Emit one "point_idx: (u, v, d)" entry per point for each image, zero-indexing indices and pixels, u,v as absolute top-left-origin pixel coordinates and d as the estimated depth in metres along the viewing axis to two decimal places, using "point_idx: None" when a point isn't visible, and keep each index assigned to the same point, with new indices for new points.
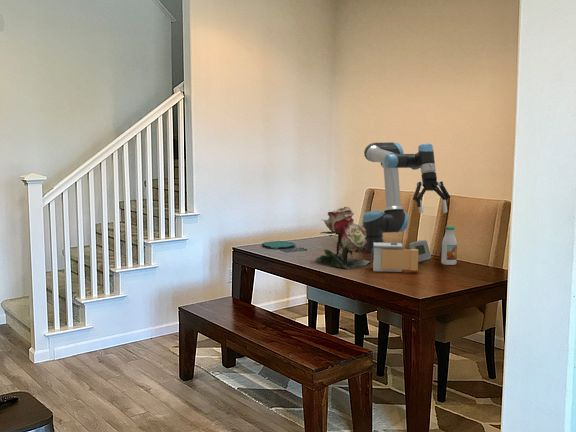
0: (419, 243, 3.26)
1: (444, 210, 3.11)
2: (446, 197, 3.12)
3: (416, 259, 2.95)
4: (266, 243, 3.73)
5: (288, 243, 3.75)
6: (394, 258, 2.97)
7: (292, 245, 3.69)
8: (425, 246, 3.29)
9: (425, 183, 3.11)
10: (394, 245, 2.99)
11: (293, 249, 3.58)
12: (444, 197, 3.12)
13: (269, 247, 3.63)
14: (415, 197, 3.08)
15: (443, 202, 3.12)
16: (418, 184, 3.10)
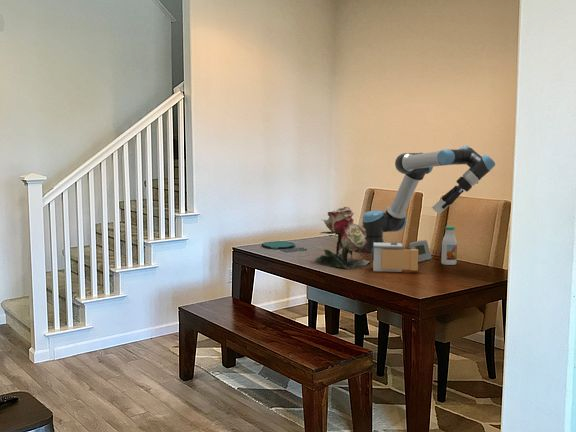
0: (419, 243, 3.26)
1: (435, 208, 3.06)
2: (446, 200, 3.06)
3: (416, 259, 2.95)
4: (266, 243, 3.73)
5: (288, 243, 3.75)
6: (394, 258, 2.97)
7: (292, 245, 3.69)
8: (425, 246, 3.29)
9: None
10: (394, 245, 2.99)
11: (293, 249, 3.58)
12: None
13: (269, 247, 3.63)
14: None
15: (441, 202, 3.05)
16: (461, 192, 2.91)
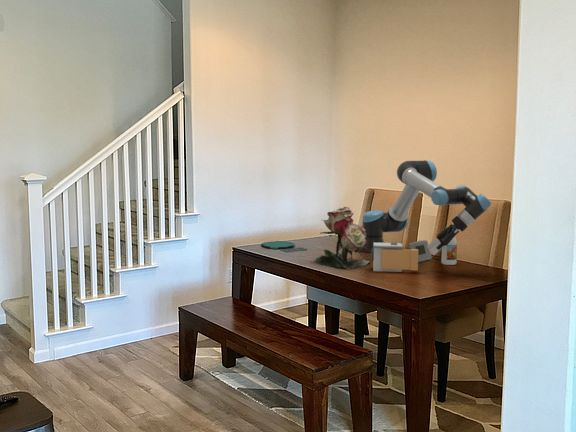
0: (419, 243, 3.26)
1: (430, 246, 3.00)
2: None
3: (416, 259, 2.95)
4: (265, 243, 3.73)
5: (287, 243, 3.75)
6: (394, 258, 2.97)
7: (291, 245, 3.69)
8: (425, 246, 3.28)
9: None
10: (394, 245, 2.99)
11: (293, 249, 3.58)
12: (441, 239, 2.99)
13: (269, 247, 3.63)
14: (447, 244, 2.83)
15: (436, 241, 3.00)
16: (456, 232, 2.85)
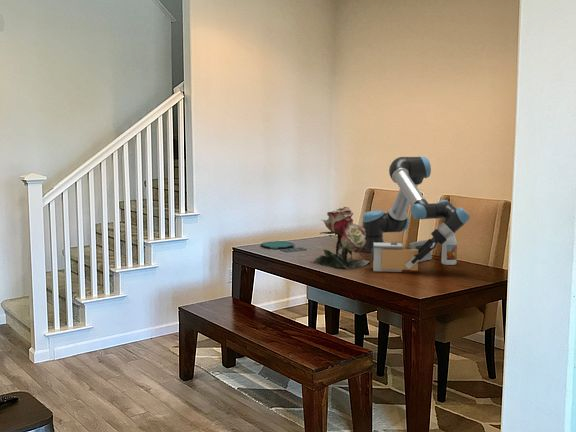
0: (419, 243, 3.25)
1: None
2: None
3: None
4: (265, 243, 3.72)
5: (287, 243, 3.75)
6: (394, 258, 2.97)
7: (291, 245, 3.69)
8: None
9: None
10: (394, 245, 2.99)
11: (293, 249, 3.58)
12: None
13: (268, 247, 3.63)
14: None
15: None
16: (432, 248, 2.89)
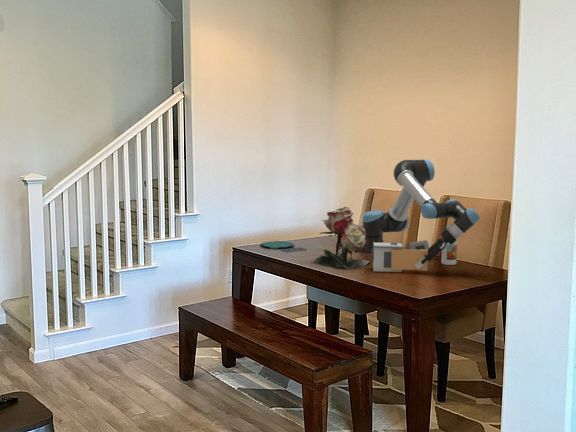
0: (419, 243, 3.25)
1: None
2: None
3: None
4: (264, 243, 3.72)
5: (286, 243, 3.75)
6: (403, 258, 2.96)
7: (291, 245, 3.69)
8: (426, 246, 3.28)
9: None
10: (394, 245, 2.99)
11: (293, 249, 3.58)
12: None
13: (268, 247, 3.63)
14: (430, 259, 2.91)
15: None
16: (441, 248, 2.88)
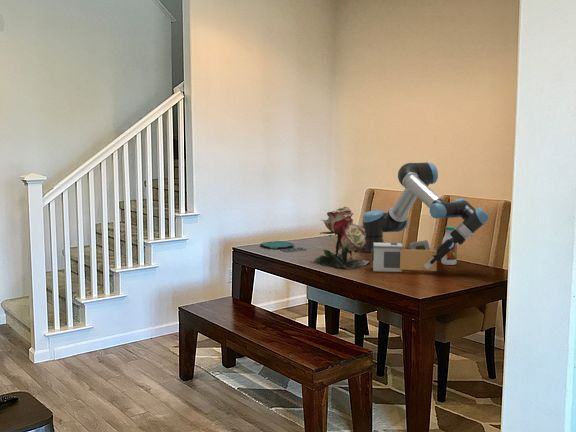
0: (419, 243, 3.25)
1: None
2: None
3: None
4: (264, 243, 3.72)
5: (286, 243, 3.75)
6: (412, 259, 2.96)
7: (291, 245, 3.69)
8: (426, 246, 3.28)
9: None
10: (394, 245, 2.99)
11: None
12: None
13: (268, 247, 3.62)
14: None
15: None
16: (451, 248, 2.88)
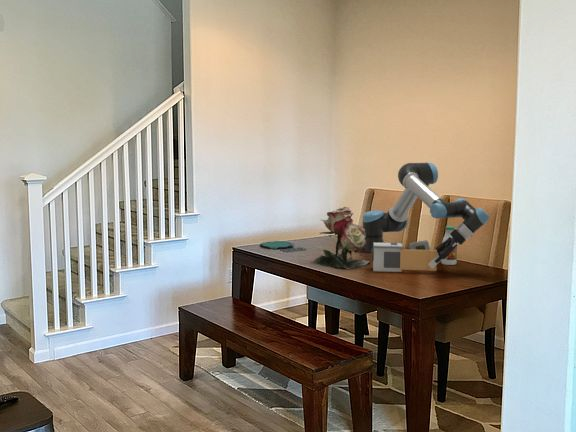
0: (420, 243, 3.25)
1: None
2: (439, 251, 3.02)
3: None
4: (264, 243, 3.72)
5: (286, 243, 3.75)
6: (412, 259, 2.96)
7: (290, 245, 3.69)
8: (426, 246, 3.28)
9: None
10: (394, 245, 2.99)
11: (292, 249, 3.58)
12: None
13: (268, 247, 3.62)
14: None
15: None
16: (454, 246, 2.86)
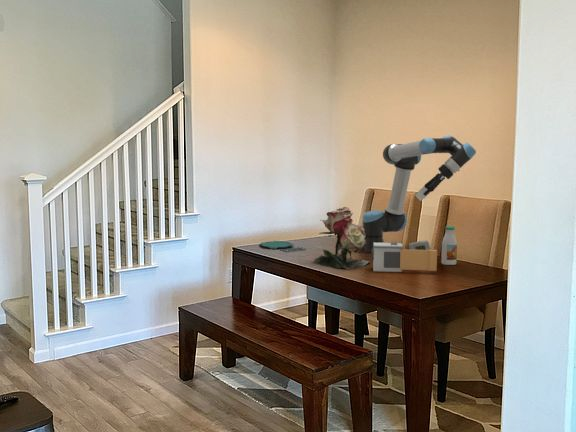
0: (420, 244, 3.24)
1: (418, 195, 3.13)
2: None
3: (435, 259, 2.94)
4: (263, 243, 3.72)
5: (285, 243, 3.75)
6: (412, 259, 2.96)
7: (290, 245, 3.69)
8: (426, 247, 3.27)
9: None
10: (394, 245, 2.99)
11: (292, 249, 3.58)
12: None
13: (267, 247, 3.62)
14: (433, 190, 2.96)
15: (424, 189, 3.12)
16: (442, 179, 2.97)
